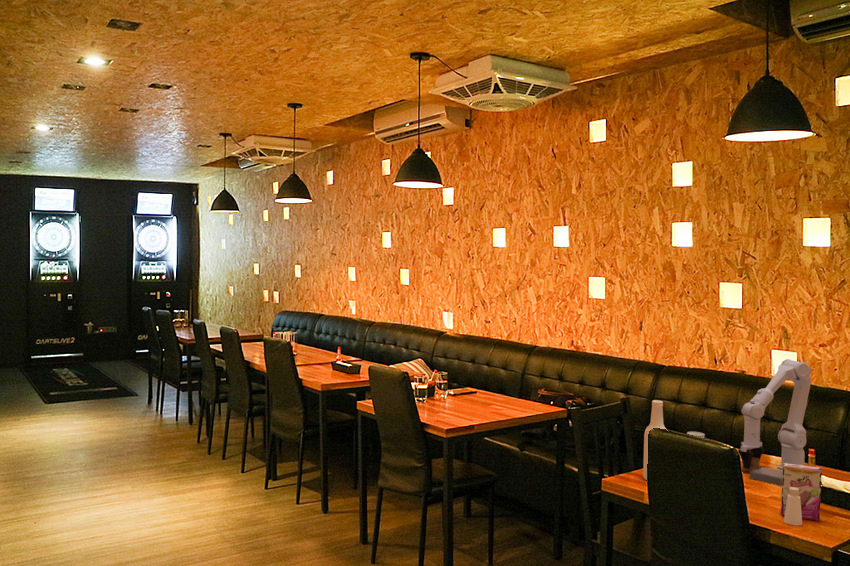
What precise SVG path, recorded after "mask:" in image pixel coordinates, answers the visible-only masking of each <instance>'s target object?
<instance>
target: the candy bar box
mask: <svg viewBox="0 0 850 566" xmlns="http://www.w3.org/2000/svg"><path fill="white" fill-rule="evenodd" d="M821 469H822V468H821V467H819V466H818V467H817V466H811V465H810V466H809V465H805V464H804V465H796V464H789V463H783V467H782V469H781V471H782V486H781V493H780V495H781V496H780V515H781V516H783V517H784V516H785V509H786V502H787V496H788V495H789V488H790V487H795V488H798V489H799V494H798V496H800V501H801V514H802V520H810V521H817V522H820V514H821V493H822V492H821V491H822V470H821Z"/></svg>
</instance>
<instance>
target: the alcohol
mask: <svg viewBox="0 0 850 566" xmlns="http://www.w3.org/2000/svg"><path fill="white" fill-rule="evenodd" d="M663 407H664V402H663V400H657V399H654V400H652V401H651V413H650V423H649V424H648V426H646V428H645V431H644V435H643V438H644V439H643V475H642V477H643V479H644V480H645V481H646V480H647V464H648V434H649V431H650V430H651V429H653V428H660V429H666V430H667V431H668V429H667V428H666V427H665V424H664V410H663Z"/></svg>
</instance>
